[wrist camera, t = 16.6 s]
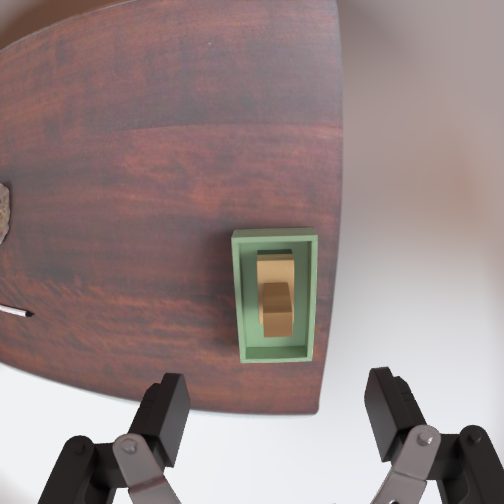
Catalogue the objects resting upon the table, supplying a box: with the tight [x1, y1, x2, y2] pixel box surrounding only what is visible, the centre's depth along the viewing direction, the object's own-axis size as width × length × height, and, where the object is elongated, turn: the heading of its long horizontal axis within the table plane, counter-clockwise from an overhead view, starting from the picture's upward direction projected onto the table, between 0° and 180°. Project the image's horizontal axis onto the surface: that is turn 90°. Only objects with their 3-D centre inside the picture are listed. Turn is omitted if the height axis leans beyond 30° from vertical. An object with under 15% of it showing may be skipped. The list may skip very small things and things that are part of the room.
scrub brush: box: [257, 249, 294, 338], centre depth 29 cm, size 7×4×10 cm, turn 3°
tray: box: [231, 227, 318, 363], centre depth 34 cm, size 15×8×3 cm, turn 3°
